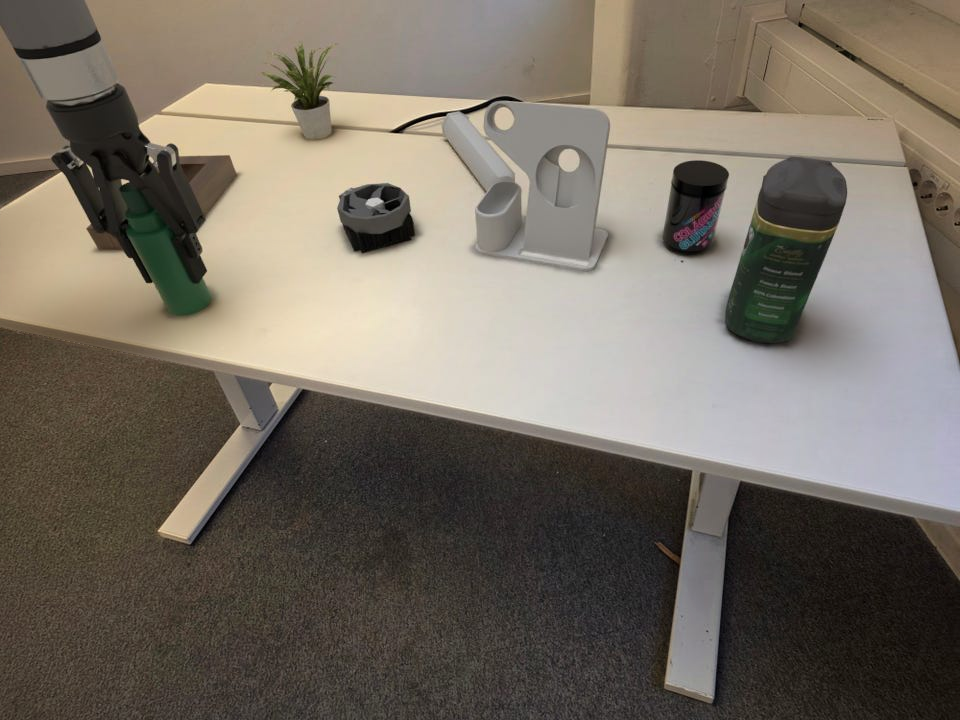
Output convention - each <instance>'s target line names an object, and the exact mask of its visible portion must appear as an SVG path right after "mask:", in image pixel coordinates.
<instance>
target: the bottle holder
mask: <svg viewBox="0 0 960 720" xmlns="http://www.w3.org/2000/svg"><path fill="white" fill-rule="evenodd" d="M179 161H180V165H181V167H182V169H183V171H184V173H185V176H186V178H187V180H188V182H189V184H190V186H191V188H192V190H193V192H194V194H195V197H196V199H197V201H198V203H199V205H200V207H201V209H202V211H203V213H204V215H205V217H206V216H207V215H208V213H209V212H210V211H211V209H212V208H213V207H214V205H215V204H216V203H217V202H218V201H219V200H220V198H221V196H222V195H223V194H224V193H225V191H226V190H227V189H228V188H229V186H230V185H231V184H232V183H233V181H234V180H235V178H236V177H237V176H238V173H237V172H236V168H235V165H234V163H233V160H232V158H231V155H230V154H224V155H222V154H219V155H216V154H215V155H179ZM151 163H152V164H153V165H154V161H153V162H151ZM154 167H155V166H154ZM155 168H156V169H157V171H158V176H159V178H160V179H161V181H162V182H163V180H162V178H161V175H160V172H159V168H157V167H155ZM143 174H144V173H143ZM143 174H142V175H143ZM142 175H141V176H142ZM141 176H140V177H141ZM163 183H164V182H163ZM164 185H165V184H164ZM126 205H127V204H126ZM127 209H129V208H128V206H127ZM100 218H101V217H100ZM85 230H86V231H87V233H88V234H89V236H90V238H91V239H92V241H93V242H94V245H95V246H96V248H97V249H98V250H99V251H102V250H104V251H106V250H107V251H110V250H111V251H116V250H117V251H119V250H121V251H123V249H122V247H121V245H120V244H119V242H118V240H117V238H115V237H113V236H112V235H111V234H110V233H106V232H104V233H103V234H99V233H97V232H96V231H95V230H94V228H93V227H92V225H91V223H89V225H88V226H87V227H86V228H85Z"/></svg>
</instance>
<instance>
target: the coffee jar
mask: <svg viewBox="0 0 960 720" xmlns="http://www.w3.org/2000/svg"><path fill="white" fill-rule="evenodd" d="M847 185H848V184H847V180H846V178H845V176H844V175H843V173H842V172H841V171H840V170H839V169H838V168H837V167H835V165H833V163H832V162H831V161H830V160H823V159H817V158H809V157H803V156H802V157H800V156H788V157H787V158H786V159H783V160H781V161H779V162H777V163H774V164H773V165H771V167H769V168H768V170H767V171H766V173H765V174H764V175H763V177H762V182H761V186H760V190H759V192H758V195H757V199H756V203H755V206H754V210H753V213H752V216H751V220H750V223H749V227H748V230H747V234H746V237H745V240H744V244H743V247H742V251H741V254H740V258H739V261H738V265H737V269H736V272H735V275H734V278H733V282H732V285H731V288H730V292H729V295H728V299H727V302H726V306H725V311H724V316H725V317H724V320H725V321H724V322H725V324H726V327H727V328H728V329H729V331H731V332H732V333H734V334H735V335H738V336H740V337H743V338H744V339H747V340H750V341H753V342H758V343H767V344H769V343H770V344H771V343H772V344H775V343H776V344H777V343H783V342H786V341H788V340H790V339H791V338H792V337H793V336H794V334H795V331H796V329H797V327H798V325H799V322H800V320H801V318H802V314H803V313H804V310H805V307H806V304H807V302H808V300H809V297H810V295H811V293H812V290H813V287H814V286H815V283H816V281H817V278H818V275H819V274H820V271H821V269H822V266H823V263H824V261H825V259H826V256H827V254H828V251H829V249H830V247H831V244H832V241H833V239H834V237H835V233H836V231H837V229H838V226H839V224H840V221H841V219H842V216H843V212H844V209H845V207H846V205H847V204H846V203H847V199H848V186H847Z"/></svg>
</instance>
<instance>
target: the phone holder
mask: <svg viewBox="0 0 960 720" xmlns="http://www.w3.org/2000/svg"><path fill="white" fill-rule="evenodd" d="M501 108H506V109H508V110H509V111H510V112H511V114H512V116H513V122H512V124H511V126H510V127H509V128H508V129H501V128H499V127H498V126H497V124H496V120H495V116H496V114H497V111H498V110H500V109H501ZM483 116H484V117H483V131H484V134H485V135H486V136H487V138H488V139H489V140H490V141H491V142H492V143H493V144H494V145H495V146H496V147H498V149H500V151H502V152H503V153H504V154H505V155H506V156H507V157H508V158H509V159H510V160H511V161H512V163H514V164H515V165H516V166H517V167H518V168H519V169H520V170H521V171H522V172H524V173H525V174H526V176H527V177H528V181H529V186H528V193H527V195H528V196H527V207H526V213H525V214H526V216H525V217H523V214H522V213H523V212H522V211H523V210H522V188H521V185H519V184H518V183H517V182H515V183H514V182H510V181H502V182H498V183H495V184H493V185H492V186H491V187H490V188H489V190H488V191H487V192H486V191H485V194H484V195H483V196H482V198H481V199H480V200H479V202H478V203H477V204H476V206H475V207H474V216H475V228H476V229H475V230H476V244H475V245H474V246H475V251H476V252H477V253H478V254H481V255H487V256H492V257H498V258H504V259H510V260H515V261H520V262H526V263H527V262H528V263H532V264H533V263H534V264H537V265H538V264H539V265H545V266H550V267H555V268H561V269H568V270H574V271H579V272H589V271H592V270H594V269H595V268H596V266H597V264H598V262H599V259H600V256H601V254H602V252H603V249H604V247H605V245H606V243H607V240H608V237H609V233H608V232H607V230H605V229H602V228H597V227H596V226H597V220H598V219H597V218H598V211H599V205H600V198H601V192H602V184H603V178H604V172H605V165H606V158H607V151H608V145H609V138H610V131H611V121H610V118H609V116H608V115H607V113H606V112H604V111H603V110H601V109H600V108H592V107H580V106H571V105H558V104H546V103H536V102H522V101H509V100H495V101H494V102H492V103H490V104H489V105H488V107H487V108H486V110H485V111H484V115H483ZM565 150H572V151H574V152H576V153H577V156H578V158H579V163H578V166H577V167H576V169H574V170H571V171H566V170H564V169H563V168H562V167H561V166H560V162H559V161H560V160H559V159H560V156H561V154H562V153H563V152H564V151H565ZM523 252H524V253H529V254H535V255H541V256H548V257H553V258H560V259H566V260H571V261H577V262H583V263H588V265H584V264H578V263H572V262H566V261H560V260H554V259H549V258H543V257H536V256H531V255H525V254H522V253H523Z"/></svg>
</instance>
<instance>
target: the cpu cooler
mask: <svg viewBox="0 0 960 720" xmlns="http://www.w3.org/2000/svg"><path fill="white" fill-rule="evenodd" d="M338 198H339V201H338V204H337V208H336V209H337V213H338V217H339V221H340V223H341V224H342V228H343V230H344V232H345V235H346V236H347V238H348V241H349V243H350V245H351V247H352V250H353V252H359V251H361V253H362V254H365V253H367V252H372V251H373V252H374V251H376V250H380V249H383V248H387V247H390V246H394V245H397V244H400V243H404V242H408V241H412V237H415V236H416V232H415V226H414V220H413V216H412V215H411V212H412V208H411V200H410V196H409V194H408V193H406V191H404V189H402V188H401V187H399V186H397V185H394V184H391V183H389V182H383V183H368V184H364V185H360V186H357V187H350V188H348V189H346V190H345V191H344V192H342V193H341V194H339V195H338Z"/></svg>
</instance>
